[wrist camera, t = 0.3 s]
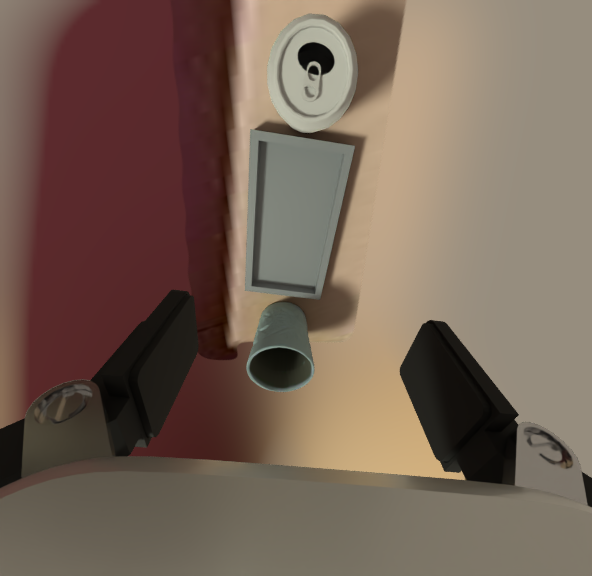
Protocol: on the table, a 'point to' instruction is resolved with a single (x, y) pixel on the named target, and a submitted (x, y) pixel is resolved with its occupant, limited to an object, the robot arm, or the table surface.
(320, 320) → the table surface
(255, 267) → the tray
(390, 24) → the table surface
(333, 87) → the can
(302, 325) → the green cup
